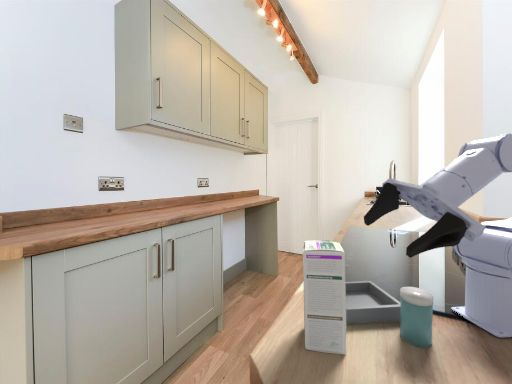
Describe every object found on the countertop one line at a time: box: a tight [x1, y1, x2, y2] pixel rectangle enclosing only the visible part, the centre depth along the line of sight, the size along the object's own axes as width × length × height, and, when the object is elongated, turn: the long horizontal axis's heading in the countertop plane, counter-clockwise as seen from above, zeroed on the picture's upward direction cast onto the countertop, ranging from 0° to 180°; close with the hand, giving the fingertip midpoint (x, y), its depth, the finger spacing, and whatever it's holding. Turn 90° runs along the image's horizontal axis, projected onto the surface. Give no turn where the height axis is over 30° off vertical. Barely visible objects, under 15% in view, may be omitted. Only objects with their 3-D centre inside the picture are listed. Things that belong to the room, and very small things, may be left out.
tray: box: [345, 280, 400, 325], centre depth 44 cm, size 10×10×2 cm
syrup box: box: [302, 239, 347, 356], centre depth 35 cm, size 6×6×14 cm
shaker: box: [399, 286, 434, 348], centre depth 35 cm, size 4×4×7 cm
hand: (385, 235), depth 36 cm, fingers open, 7 cm apart
